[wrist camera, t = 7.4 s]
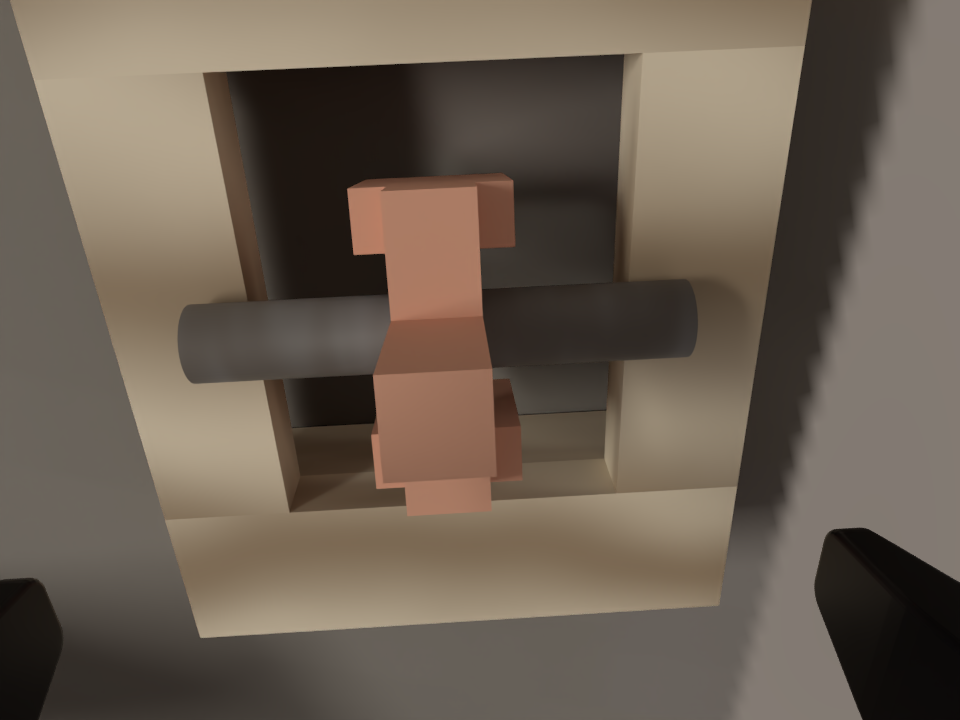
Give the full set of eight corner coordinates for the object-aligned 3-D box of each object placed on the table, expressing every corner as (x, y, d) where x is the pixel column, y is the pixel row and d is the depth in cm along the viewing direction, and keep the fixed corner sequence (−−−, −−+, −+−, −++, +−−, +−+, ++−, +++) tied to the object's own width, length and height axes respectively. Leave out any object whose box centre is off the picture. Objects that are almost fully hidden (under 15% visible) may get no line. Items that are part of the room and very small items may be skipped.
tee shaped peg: (510, 425, 18) (549, 607, 11) (388, 432, 18) (348, 619, 11) (501, 172, 16) (540, 199, 9) (365, 179, 16) (301, 211, 9)
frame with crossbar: (677, 513, 23) (740, 653, 18) (237, 539, 23) (181, 689, 18) (753, -177, 15) (903, -260, 10) (67, -153, 15) (-121, -224, 10)
